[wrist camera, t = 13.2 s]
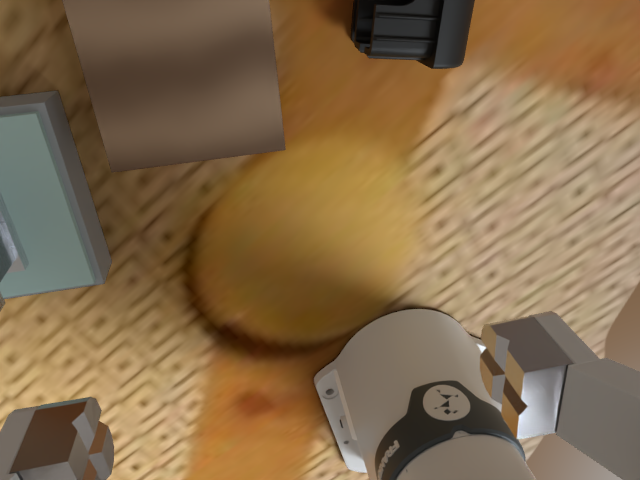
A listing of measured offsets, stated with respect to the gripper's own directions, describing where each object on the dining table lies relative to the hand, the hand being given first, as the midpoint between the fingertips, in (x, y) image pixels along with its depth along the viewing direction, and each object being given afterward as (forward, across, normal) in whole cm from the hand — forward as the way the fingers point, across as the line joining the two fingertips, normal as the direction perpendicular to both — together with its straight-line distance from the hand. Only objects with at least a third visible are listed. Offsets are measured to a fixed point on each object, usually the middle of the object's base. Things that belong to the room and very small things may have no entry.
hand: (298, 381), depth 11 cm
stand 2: (+31, +4, -2) cm, 32 cm away
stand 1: (+31, +20, +6) cm, 38 cm away
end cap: (+32, -12, -6) cm, 34 cm away
